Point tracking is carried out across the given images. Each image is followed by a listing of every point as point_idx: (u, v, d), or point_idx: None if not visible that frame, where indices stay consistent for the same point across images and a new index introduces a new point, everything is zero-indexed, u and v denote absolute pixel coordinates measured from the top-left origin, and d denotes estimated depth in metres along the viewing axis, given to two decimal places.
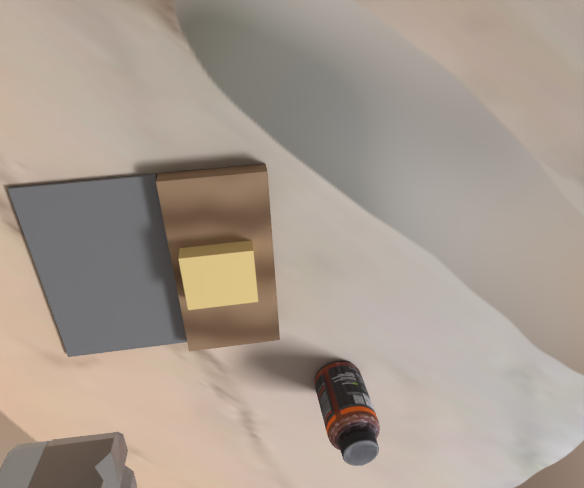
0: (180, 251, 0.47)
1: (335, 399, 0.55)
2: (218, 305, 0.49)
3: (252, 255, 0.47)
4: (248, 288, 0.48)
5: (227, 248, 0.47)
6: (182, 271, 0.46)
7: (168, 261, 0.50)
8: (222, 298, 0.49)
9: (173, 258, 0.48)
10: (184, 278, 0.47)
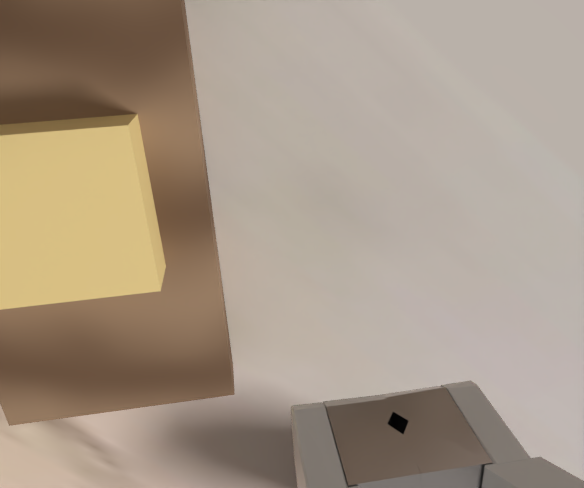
0: None
1: None
2: (46, 300, 0.17)
3: (128, 141, 0.16)
4: (127, 251, 0.17)
5: (56, 126, 0.16)
6: None
7: None
8: (54, 279, 0.17)
9: None
10: None
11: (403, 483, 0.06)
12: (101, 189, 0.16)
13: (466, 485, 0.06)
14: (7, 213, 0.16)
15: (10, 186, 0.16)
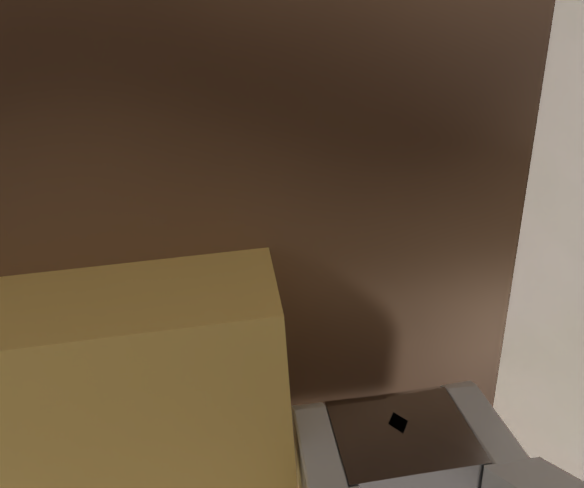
0: None
1: None
2: None
3: (279, 351, 0.06)
4: None
5: (89, 302, 0.06)
6: None
7: None
8: None
9: None
10: None
11: (404, 484, 0.06)
12: (200, 456, 0.06)
13: (465, 485, 0.06)
14: None
15: None
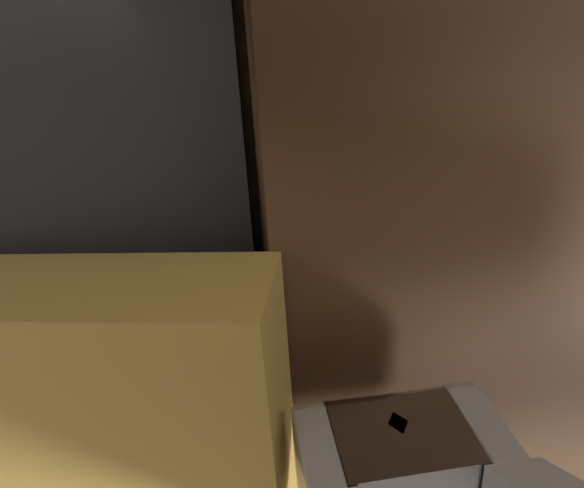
0: None
1: None
2: None
3: (255, 357, 0.06)
4: None
5: (99, 287, 0.07)
6: None
7: None
8: None
9: (287, 297, 0.08)
10: None
11: (403, 484, 0.06)
12: (183, 445, 0.07)
13: (466, 485, 0.06)
14: None
15: None
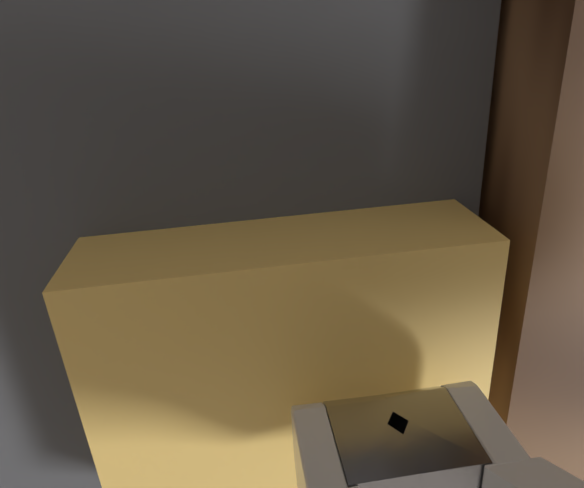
0: (75, 252, 0.08)
1: None
2: None
3: (501, 269, 0.08)
4: None
5: (344, 234, 0.08)
6: (77, 372, 0.08)
7: None
8: None
9: (544, 270, 0.08)
10: (93, 412, 0.08)
11: (403, 483, 0.06)
12: (426, 354, 0.08)
13: (466, 485, 0.06)
14: (248, 403, 0.08)
15: (264, 357, 0.08)
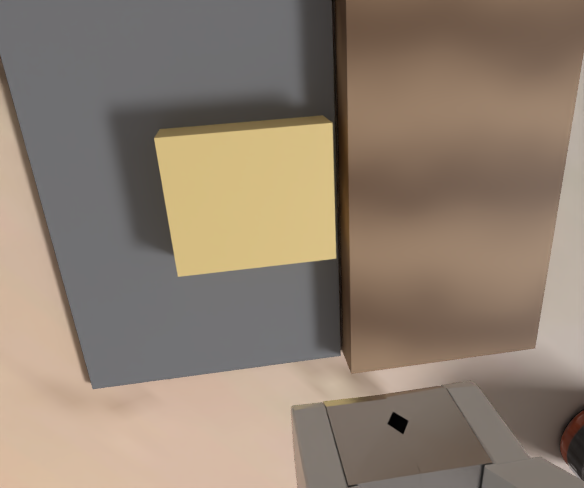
0: (160, 131, 0.20)
1: None
2: (247, 266, 0.22)
3: (330, 135, 0.20)
4: (315, 225, 0.21)
5: (270, 124, 0.20)
6: (164, 174, 0.19)
7: None
8: (256, 248, 0.21)
9: (353, 140, 0.20)
10: (169, 193, 0.20)
11: (403, 484, 0.06)
12: (304, 174, 0.20)
13: (466, 485, 0.06)
14: (231, 193, 0.20)
15: (237, 171, 0.20)
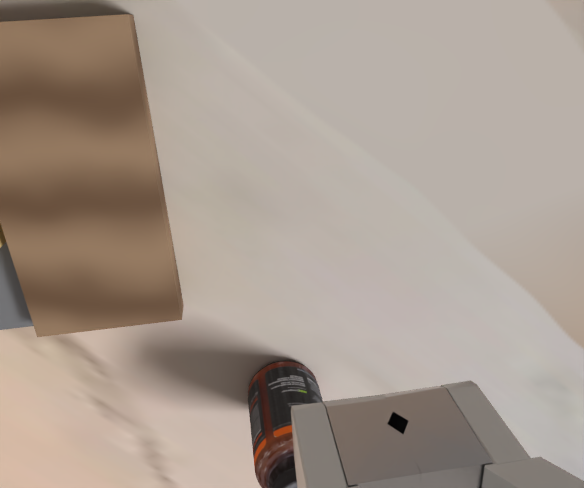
0: None
1: (269, 414, 0.35)
2: None
3: None
4: None
5: None
6: None
7: None
8: None
9: None
10: None
11: (404, 484, 0.06)
12: None
13: (466, 485, 0.06)
14: None
15: None
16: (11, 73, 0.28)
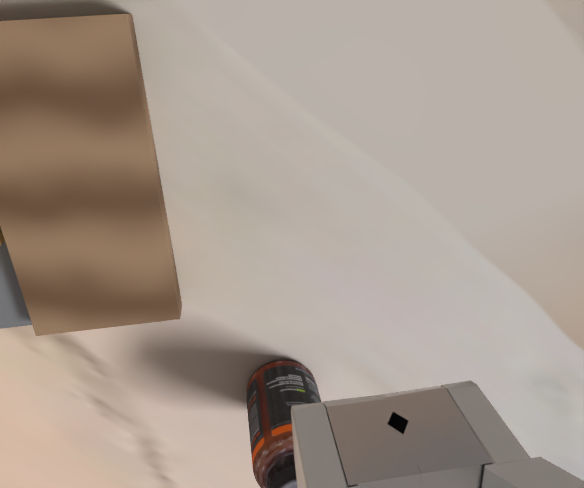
0: None
1: (267, 413, 0.35)
2: None
3: None
4: None
5: None
6: None
7: None
8: None
9: None
10: None
11: (403, 484, 0.06)
12: None
13: (466, 485, 0.06)
14: None
15: None
16: (10, 72, 0.28)
